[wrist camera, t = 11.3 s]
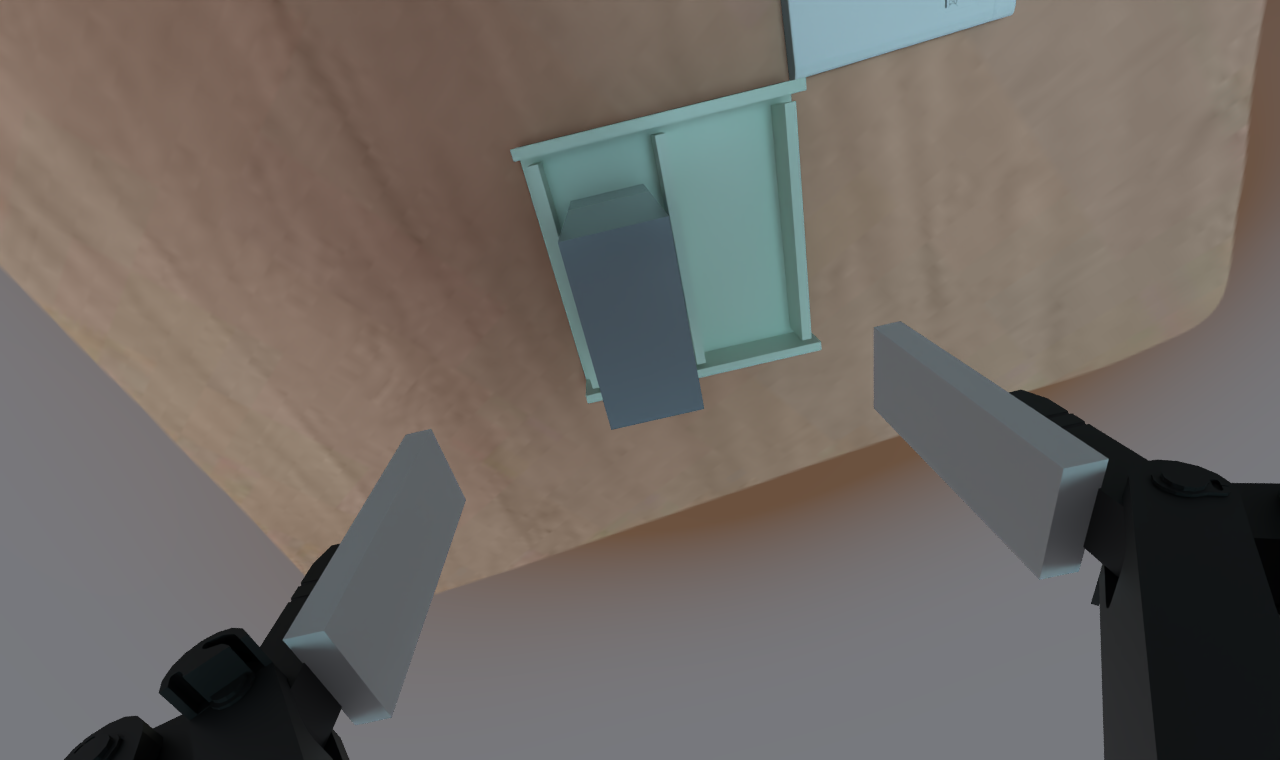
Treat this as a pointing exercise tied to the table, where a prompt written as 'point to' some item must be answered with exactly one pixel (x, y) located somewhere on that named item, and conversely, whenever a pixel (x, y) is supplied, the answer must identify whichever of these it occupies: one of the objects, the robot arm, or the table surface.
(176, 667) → the robot arm
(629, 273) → the blue-grey rectangular block
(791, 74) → the external hard drive
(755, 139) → the green divided tray
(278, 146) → the table surface
